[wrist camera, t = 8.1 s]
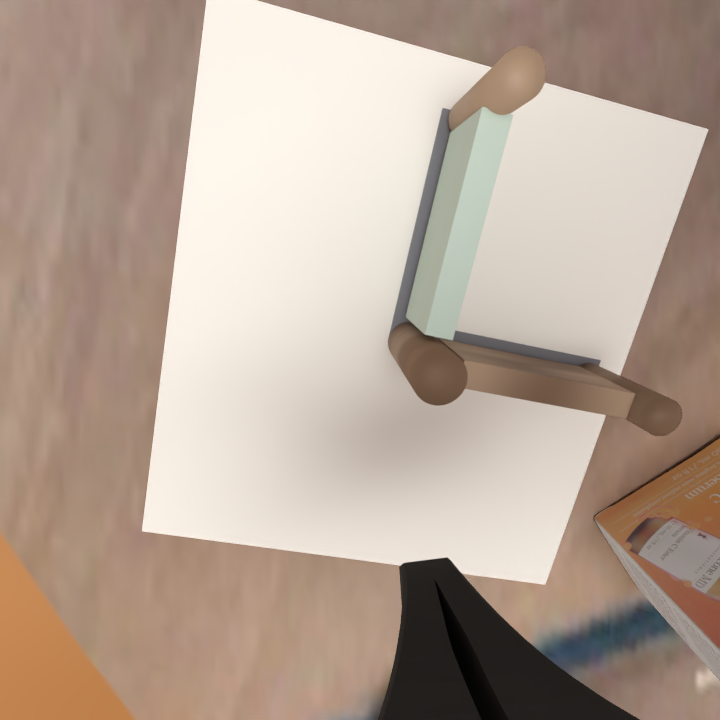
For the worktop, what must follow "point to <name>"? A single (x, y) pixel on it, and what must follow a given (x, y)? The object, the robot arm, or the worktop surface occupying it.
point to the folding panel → (468, 188)
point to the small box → (676, 548)
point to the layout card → (388, 299)
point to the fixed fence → (524, 380)
